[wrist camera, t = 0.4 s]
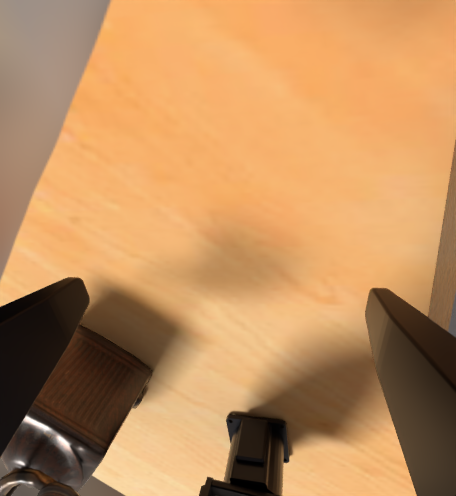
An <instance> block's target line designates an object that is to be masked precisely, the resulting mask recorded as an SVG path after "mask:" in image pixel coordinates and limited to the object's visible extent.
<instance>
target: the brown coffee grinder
mask: <svg viewBox="0 0 456 496" xmlns="http://www.w3.org/2000/svg"><path fill="white" fill-rule="evenodd" d="M151 374H152V370H151V369H150V368H148V367H147V366H146V365H145V364H143V363H142V362H141V361H140V360H138V359H137V358H136V357H135V356H133V355H131V354H130V353H128V352H127V351H125V350H123V349H122V348H120V347H119V346H117V345H115V344H114V343H112V342H110V341H109V340H107V339H106V338H104V337H102V336H101V335H99V334H97V333H95V332H93V331H91V330H89V329H87V328H85V327H83V326H81V325H78V327H77V329H76V332H75V334H74V336H73V338H72V340H71V342H70V344H69V345H68V347H67V349H66V351H65V352H64V354H63V356H62V357H61V359H60V361H59V362H58V364H57V365H56V367H55V369H54V370H53V372H52V374H51V375H50V377H49V379H48V380H47V382H46V384H45V385H44V387H43V389H42V390H41V392H40V393H39V395H38V397H37V398H36V400H35V402H34V403H33V405H32V407H31V408H30V410H29V412H28V413H27V415H26V417H25V418H24V420H23V421H22V423H21V425H20V426H19V428H18V430H17V431H16V433H15V435H14V436H13V438H12V440H11V441H10V443H9V445H8V446H7V448H6V449H5V451H4V453H3V454H2V456H1V458H2V460H3V463H4V465H5V467H6V469H7V470H8V471H9V473H8V474H6V475H5V476H3V477H2V478H1V479H0V496H11V495H12V494H13V492H14V491H15V490H16V489H17V487H19V486H21V485H22V484H25V485H26V486H27V487H29V488H37V489H39V490H40V491H39V493H38V495H37V496H80V495H79V494H78V493H77V492H78V491H79V489H80V488H82V486H83V485H84V484H85V483H86V481H87V480H88V479H89V478H90V476H91V475H92V474H93V472H94V471H95V470H96V468H97V467H98V466H99V464H100V463H101V462H102V460H103V458H104V456H105V454H106V453H107V450H108V449H109V447H110V445H111V443H112V442H113V440H114V438H115V437H116V435H117V433H118V432H119V430H120V428H121V427H122V425H123V423H124V421H125V420H126V418H127V416H128V414H129V412H130V411H131V409H132V408H137V406H138V405H139V404H140V402H141V401H142V398H143V396H142V393H143V389H144V387H145V386H146V384H147V383H148V382H149V379H150V376H151Z"/></svg>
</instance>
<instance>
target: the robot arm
mask: <svg viewBox="0 0 456 496" xmlns="http://www.w3.org/2000/svg"><path fill="white" fill-rule="evenodd" d="M88 305H89V295H88V292H87V290H86V287H85V285H84V282H83V280H82V279H81V278H77V277H68V278H65V279H63V280H61V281H58V282H56V283H54V284H51V285H49V286H47V287H45V288H42V289H40V290H38V291H35V292H33V293H31V294H29V295H26V296H24V297H22V298H20V299H17V300H15V301H13V302H10V303H8V304H6V305H4V306H1V307H0V458H1V456H2V454H3V453H4V451H5V449H6V448H7V446H8V445H9V443H10V441H11V440H12V438H13V436H14V435H15V433H16V431H17V430H18V428H19V426H20V425H21V423H22V421H23V420H24V418H25V417H26V415H27V413H28V412H29V410H30V408H31V407H32V405H33V403H34V402H35V400H36V398H37V397H38V395H39V393H40V392H41V390H42V389H43V387H44V385H45V384H46V382H47V380H48V379H49V377H50V375H51V374H52V372H53V370H54V369H55V367H56V365H57V364H58V362H59V361H60V359H61V357H62V356H63V354H64V352H65V351H66V349H67V347H68V345H69V344H70V342H71V340H72V338H73V336H74V334H75V332H76V329H77V327H78V325H79V323H80V321H81V319H82V317H83V315H84V313H85V311H86V309H87V307H88ZM365 317H366V323H367V328H368V333H369V338H370V343H371V348H372V353H373V358H374V363H375V368H376V371H377V375H378V378H379V381H380V384H381V387H382V390H383V393H384V396H385V399H386V402H387V405H388V408H389V412H390V415H391V418H392V421H393V424H394V427H395V430H396V433H397V436H398V439H399V442H400V445H401V448H402V451H403V454H404V457H405V461H406V464H407V467H408V470H409V473H410V476H411V479H412V482H413V485H414V488H415V491H416V494H417V496H456V337H455V336H453V335H452V334H450V333H449V332H448V331H446V330H445V329H443V328H442V327H441V326H439V325H438V324H436V323H435V322H434V321H432V320H431V319H429V318H428V317H427V316H425V315H424V314H422V313H421V312H420V311H418V310H417V309H415V308H414V307H413V306H411V305H410V304H408V303H407V302H406V301H404V300H403V299H401V298H400V297H399V296H397V295H396V294H394V293H393V292H392V291H390V290H389V289H386V288H372V289H371V290H370V292H369V296H368V301H367V306H366V311H365ZM226 422H227V427H228V432H229V437H230V442H231V447H230V452H229V457H228V462H227V467H226V472H225V477H224V482H223V481H218V480H214V479H213V478H211V477H207V480H206V483H205V485H203V486H201V490H200V494H199V496H282V487H283V463H288V462H289V448H288V436H287V425H286V422H285V421H283V420H276V419H267V418H257V417H247V416H237V415H228V416H227V419H226Z"/></svg>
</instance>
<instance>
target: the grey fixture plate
mask: <svg viewBox="0 0 456 496" xmlns="http://www.w3.org/2000/svg"><path fill="white" fill-rule="evenodd" d="M428 318H429V319H431V320H432V321H434V322H435V323H436V324H438V325H439V326H441V327H442V328H443V329H445V330H446V331H448V332H449V333H450V334H452V335H453V336H455V337H456V142H455V149H454V155H453V161H452V168H451V174H450V181H449V187H448V194H447V200H446V206H445V213H444V219H443V226H442V232H441V239H440V245H439V251H438V258H437V264H436V271H435V277H434V284H433V290H432V297H431V303H430V309H429V316H428Z"/></svg>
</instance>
